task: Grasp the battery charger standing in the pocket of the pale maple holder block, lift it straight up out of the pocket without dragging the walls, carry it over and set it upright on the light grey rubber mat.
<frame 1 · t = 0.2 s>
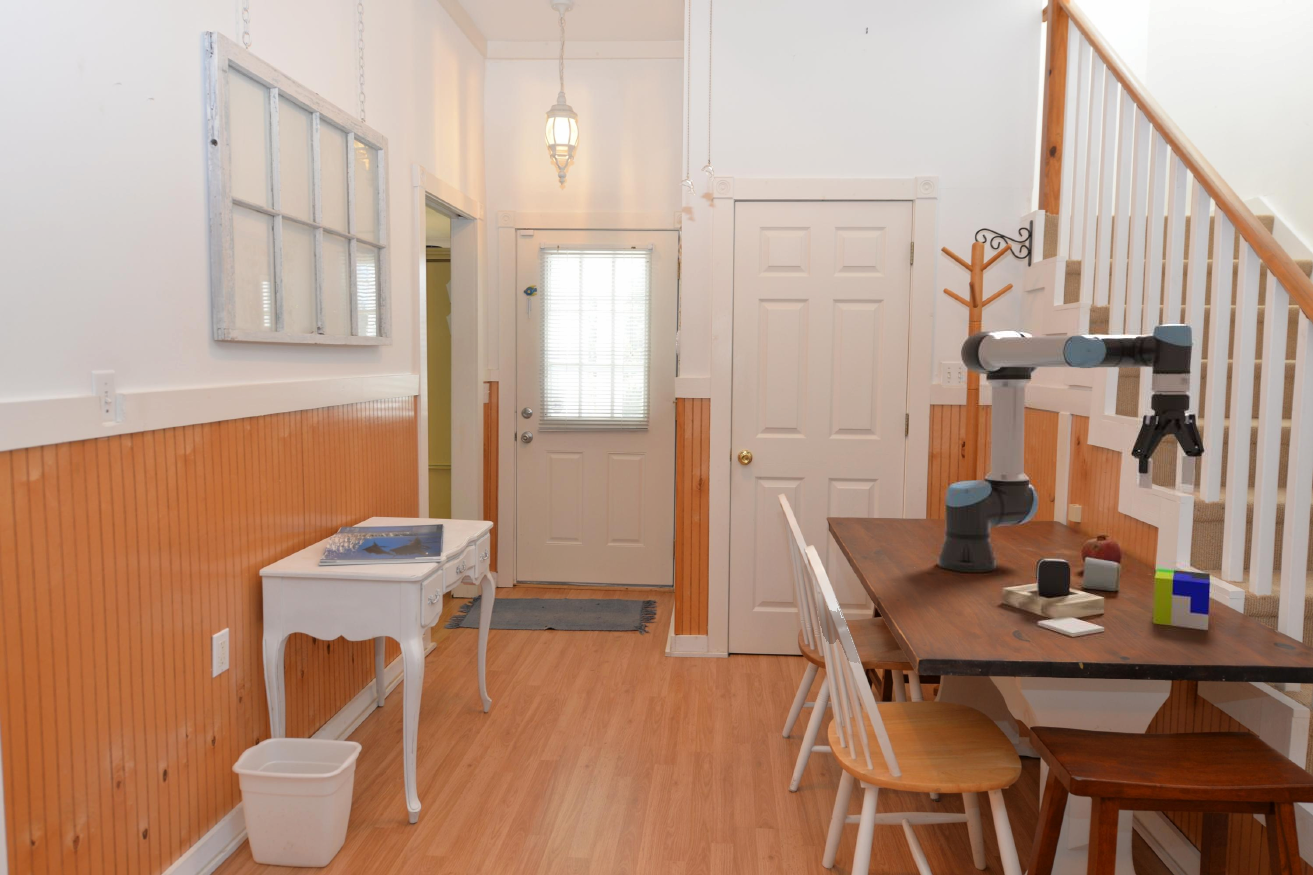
hand: (1166, 486, 200), 28 cm above the table, fingers open, 13 cm apart
grey rounded block: (1099, 589, 218), on the table
fruit: (1101, 572, 235), on the table
holder block: (1052, 607, 201), on the table
puzzle toy: (1180, 621, 190), on the table
battery charger: (1051, 608, 201), resting in holder block
grey mat: (1070, 628, 185), on the table
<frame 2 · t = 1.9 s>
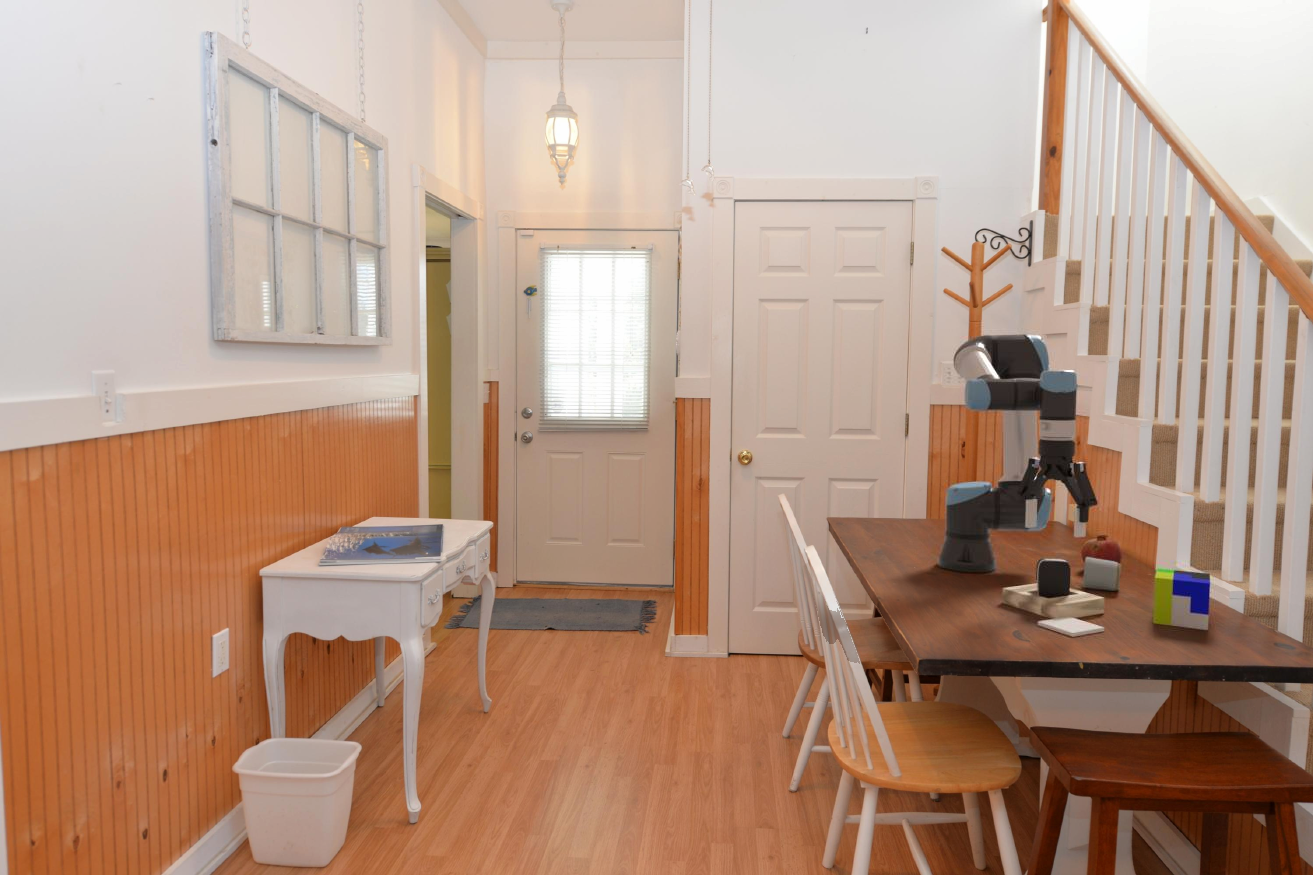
hand: (1054, 531, 199), 18 cm above the table, fingers open, 13 cm apart
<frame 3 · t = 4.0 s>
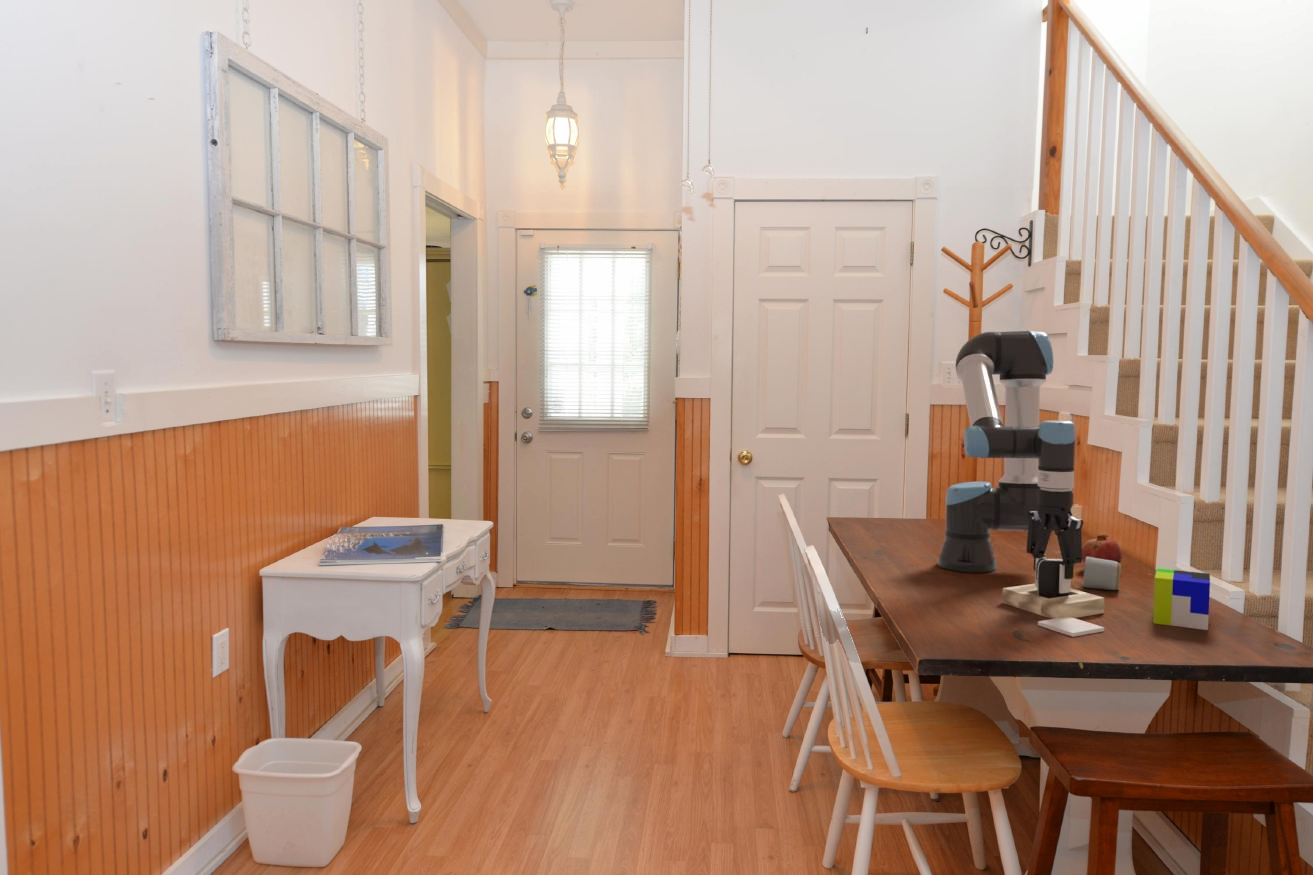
hand: (1052, 588, 200), 4 cm above the table, fingers closed on battery charger, 6 cm apart
battery charger: (1051, 608, 201), resting in holder block, touching gripper
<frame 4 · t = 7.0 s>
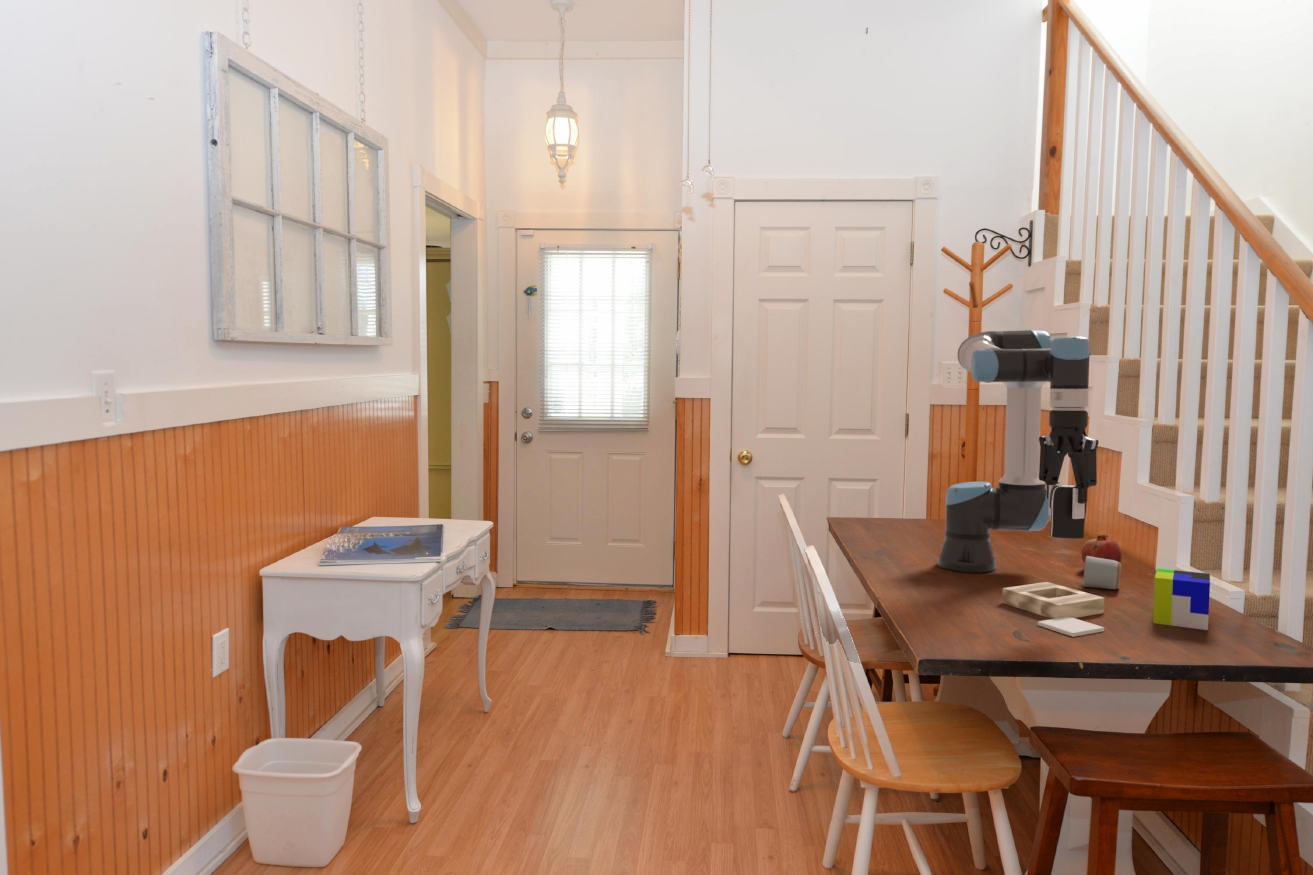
hand: (1066, 516, 189), 23 cm above the table, fingers closed on battery charger, 6 cm apart
battery charger: (1065, 538, 190), point 18 cm above the table, touching gripper
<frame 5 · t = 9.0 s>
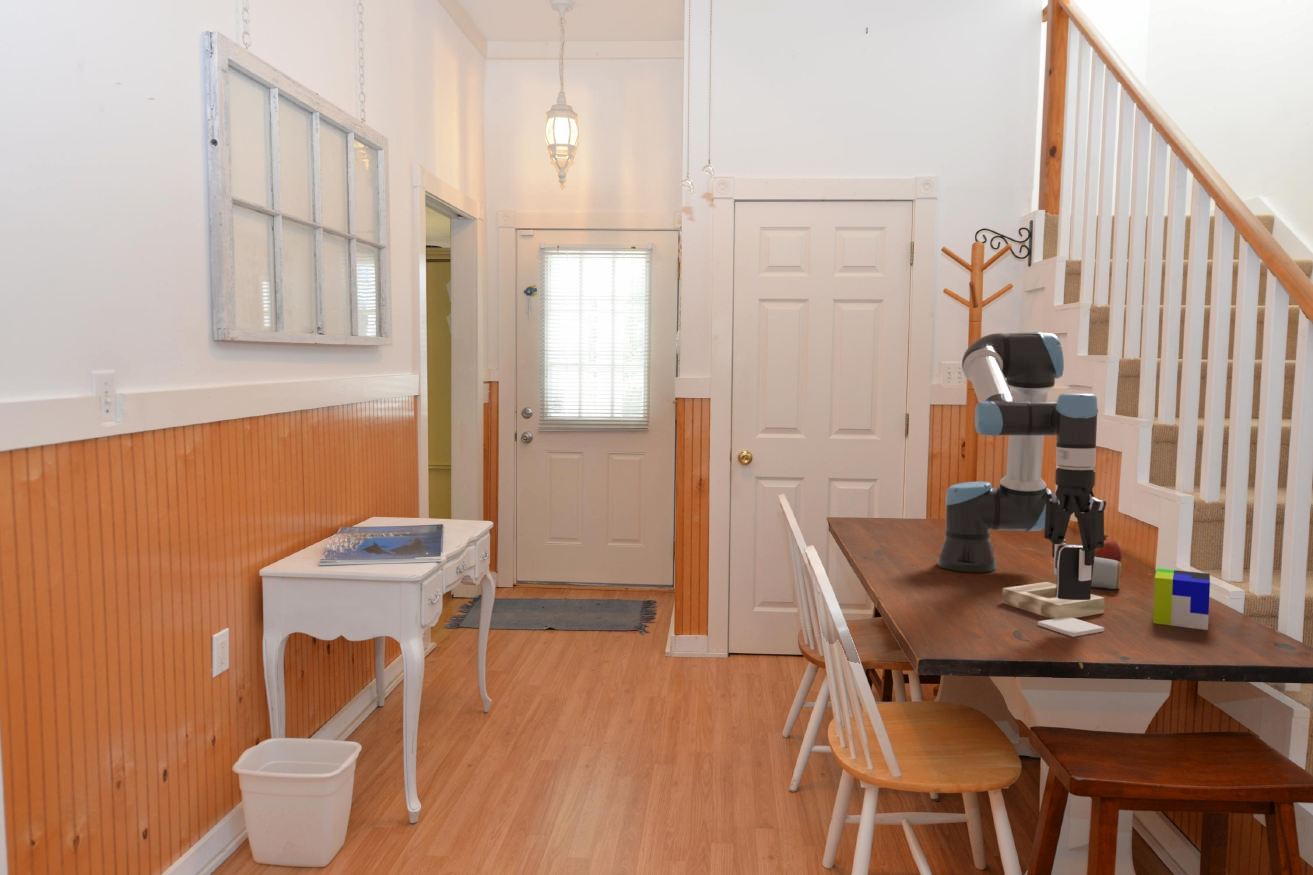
hand: (1072, 576, 184), 11 cm above the table, fingers closed on battery charger, 6 cm apart
battery charger: (1071, 599, 185), point 6 cm above the table, touching gripper
when the fingers open (7 cm above the table, at t = 10.4 s): battery charger drops 1 cm, resting on grey mat.
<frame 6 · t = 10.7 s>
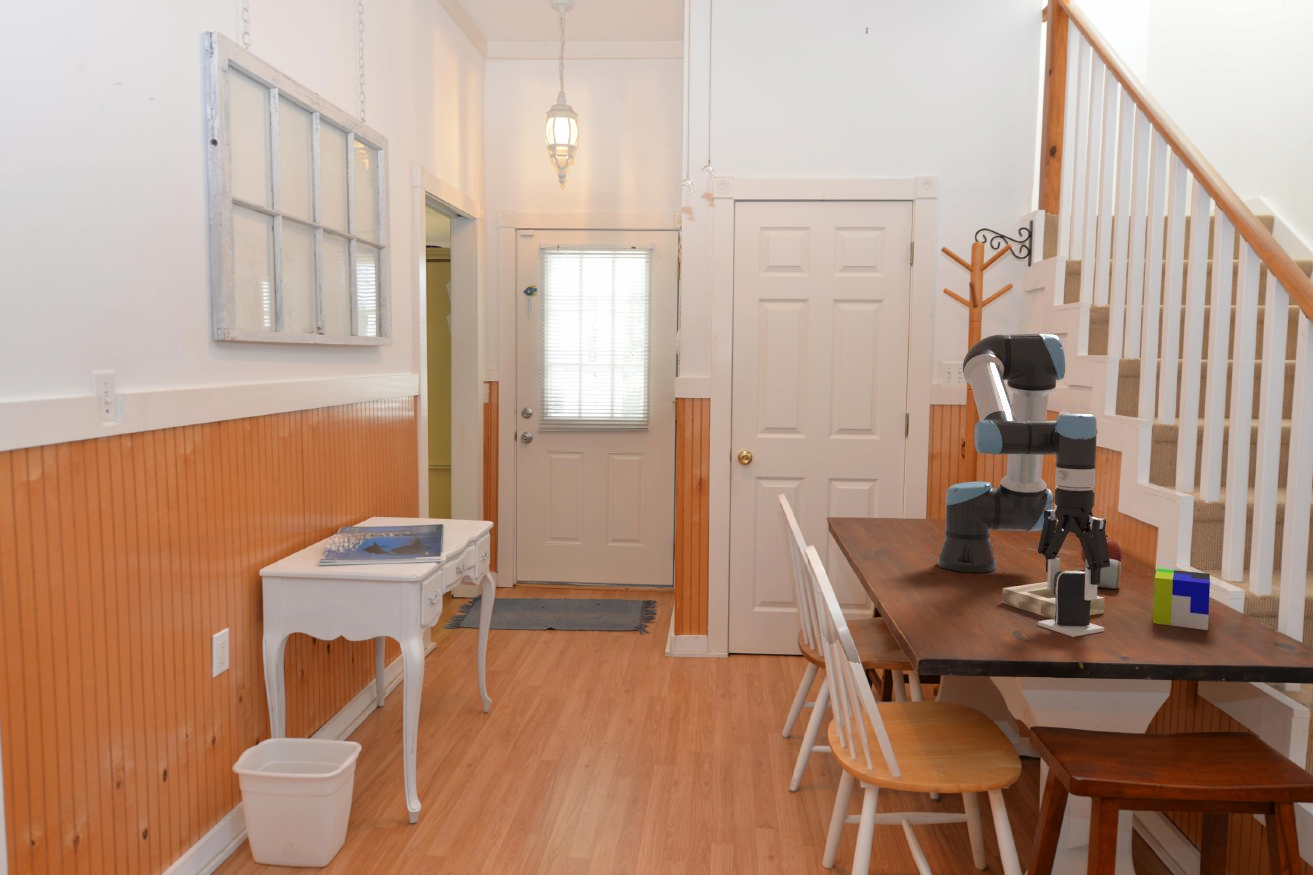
hand: (1071, 593, 185), 7 cm above the table, fingers open, 9 cm apart
battery charger: (1070, 624, 185), point 1 cm above the table, touching grey mat
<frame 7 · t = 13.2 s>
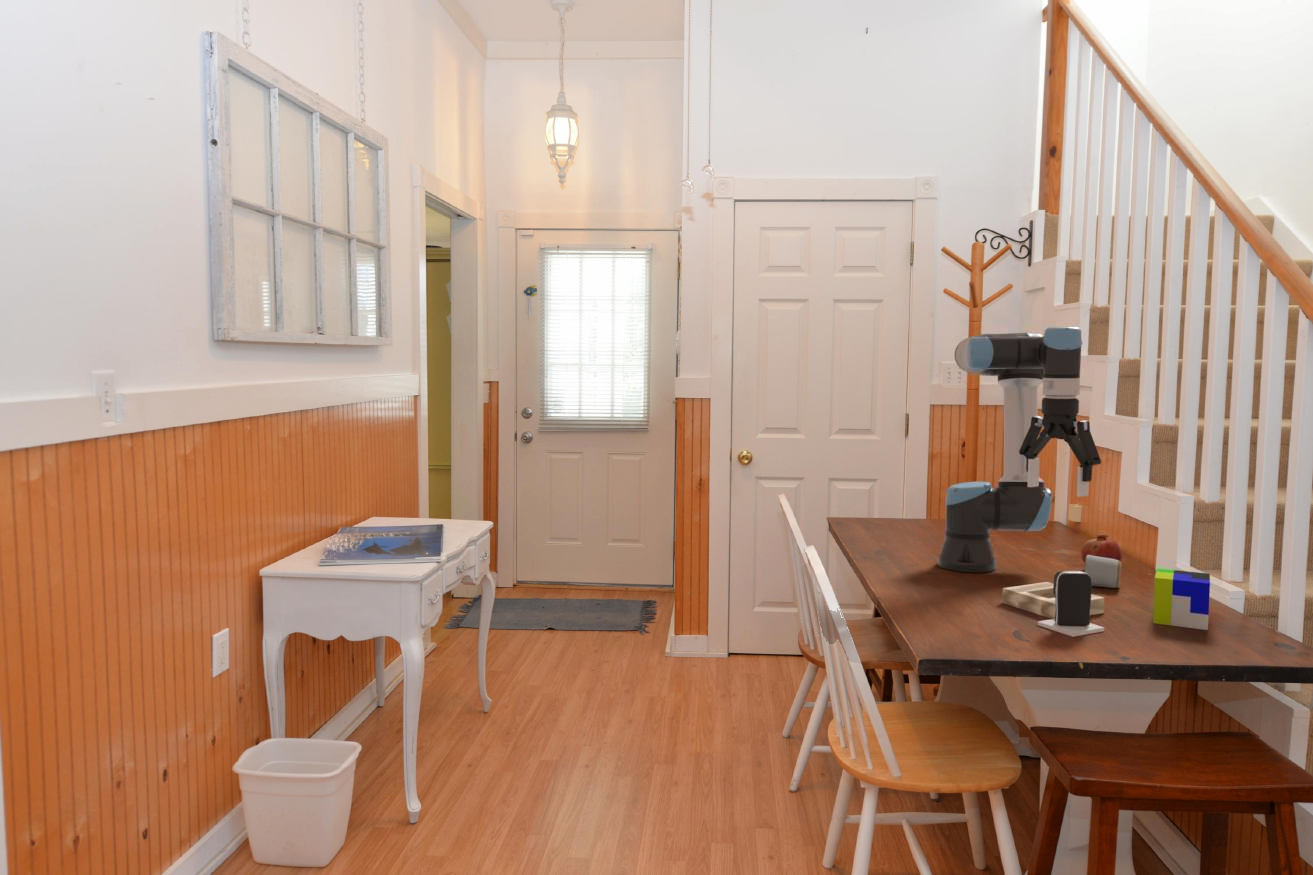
hand: (1056, 491, 197), 27 cm above the table, fingers open, 13 cm apart
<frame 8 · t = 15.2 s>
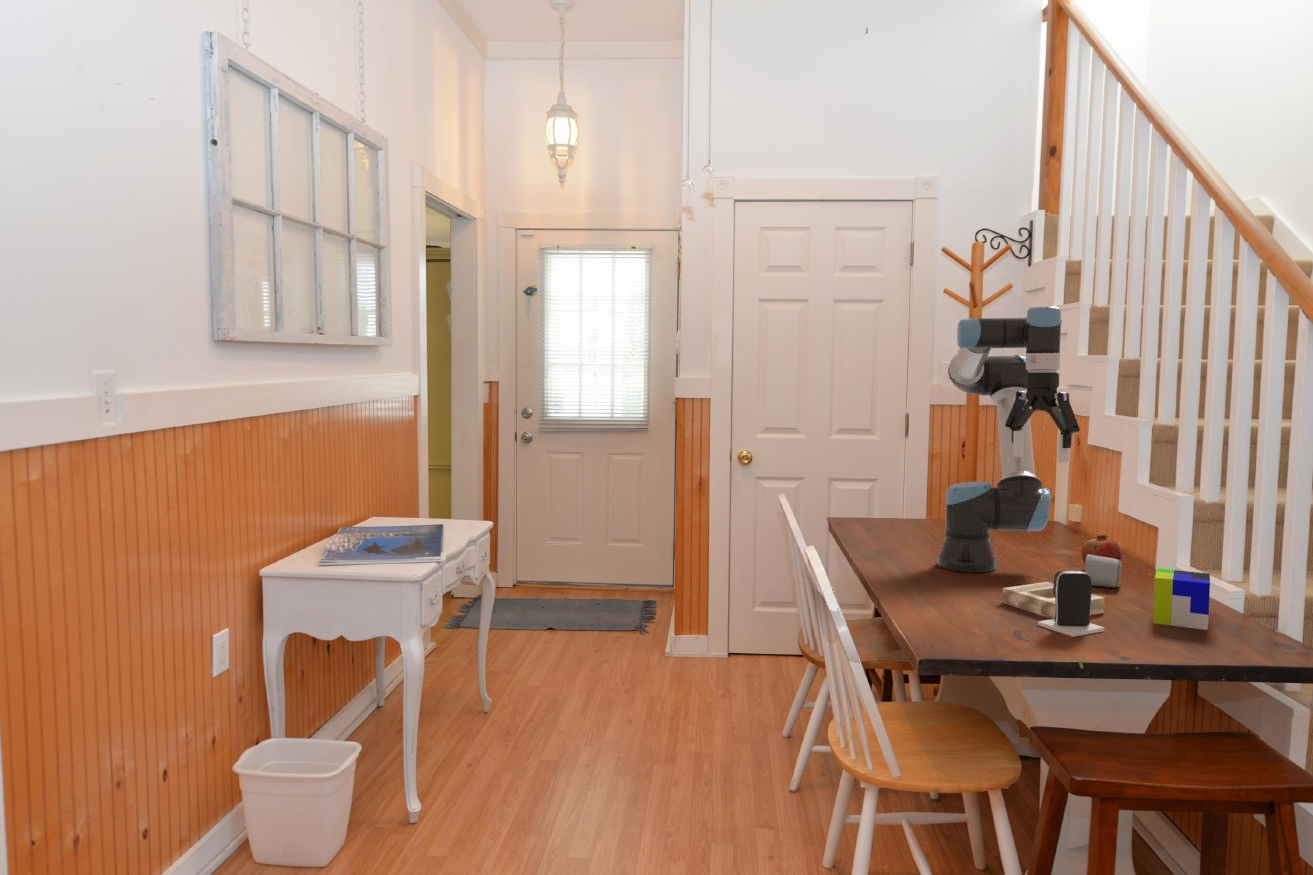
hand: (1039, 459, 212), 33 cm above the table, fingers open, 13 cm apart
at the end: battery charger 0.4 cm from the grey mat (horizontally); battery charger tilted 0°; the gripper is holding nothing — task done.
